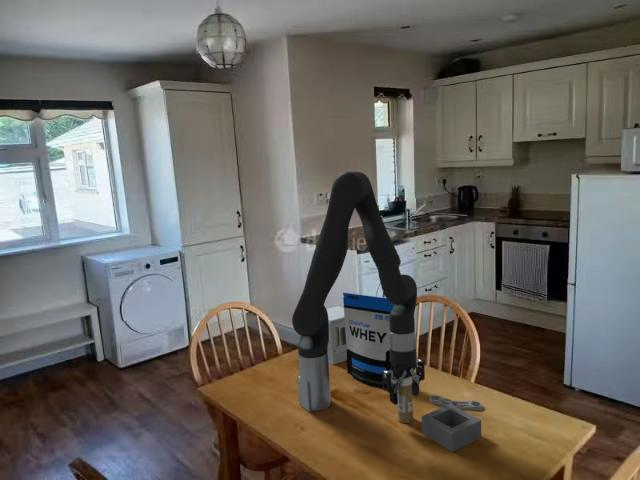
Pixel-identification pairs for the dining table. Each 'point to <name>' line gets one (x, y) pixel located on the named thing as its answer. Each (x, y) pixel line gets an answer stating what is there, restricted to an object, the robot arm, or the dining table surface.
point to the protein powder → (367, 337)
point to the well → (451, 438)
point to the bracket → (456, 403)
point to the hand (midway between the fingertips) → (404, 399)
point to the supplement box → (336, 336)
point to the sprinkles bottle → (405, 401)
